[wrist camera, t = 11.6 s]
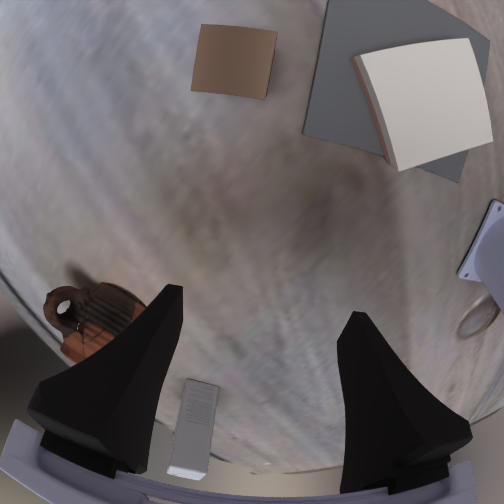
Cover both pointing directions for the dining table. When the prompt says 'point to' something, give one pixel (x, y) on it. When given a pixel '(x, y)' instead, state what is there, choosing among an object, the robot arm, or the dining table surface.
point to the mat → (366, 41)
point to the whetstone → (425, 100)
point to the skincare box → (193, 431)
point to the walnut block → (233, 60)
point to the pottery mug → (89, 317)
